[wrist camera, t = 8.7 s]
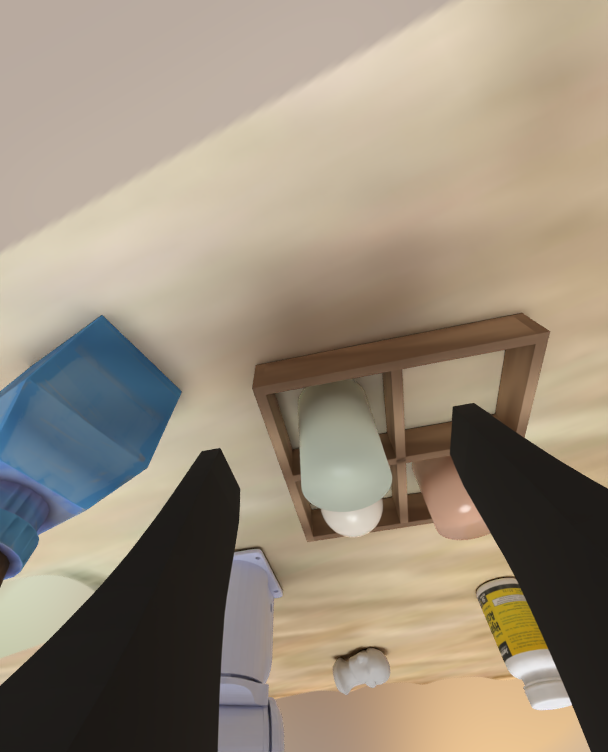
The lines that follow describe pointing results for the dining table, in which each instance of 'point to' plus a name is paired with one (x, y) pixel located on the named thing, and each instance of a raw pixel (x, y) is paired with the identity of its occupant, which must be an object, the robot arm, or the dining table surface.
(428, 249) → the dining table surface
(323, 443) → the sage green cylinder
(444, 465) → the pink rounded cylinder
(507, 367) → the wooden compartment tray
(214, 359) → the dining table surface
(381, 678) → the smooth white sculpture
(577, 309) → the dining table surface
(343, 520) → the egg
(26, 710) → the robot arm
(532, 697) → the supplement bottle
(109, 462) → the perfume bottle
